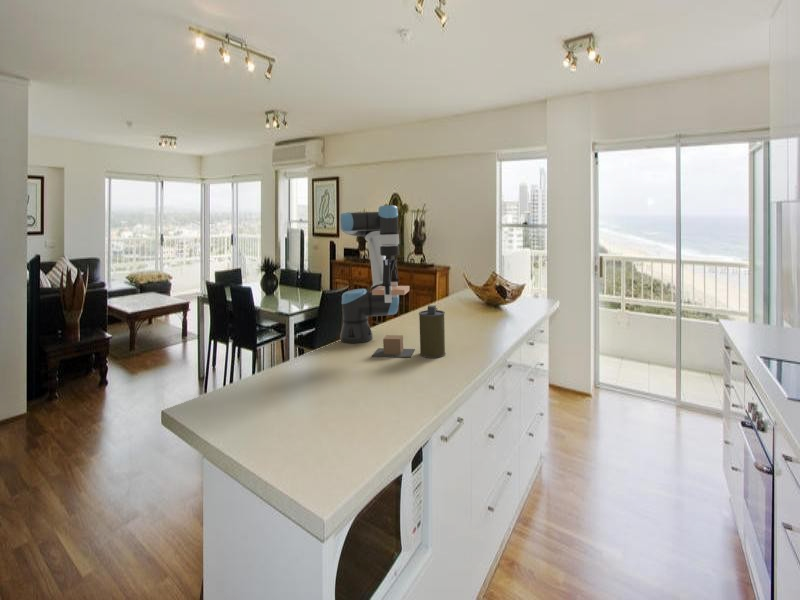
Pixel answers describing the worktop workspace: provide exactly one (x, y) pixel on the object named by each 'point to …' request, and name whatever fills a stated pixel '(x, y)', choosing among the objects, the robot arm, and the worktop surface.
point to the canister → (432, 333)
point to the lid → (395, 290)
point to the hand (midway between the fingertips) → (391, 299)
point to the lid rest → (393, 348)
